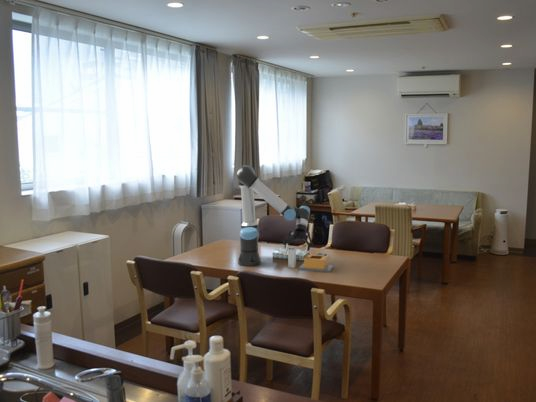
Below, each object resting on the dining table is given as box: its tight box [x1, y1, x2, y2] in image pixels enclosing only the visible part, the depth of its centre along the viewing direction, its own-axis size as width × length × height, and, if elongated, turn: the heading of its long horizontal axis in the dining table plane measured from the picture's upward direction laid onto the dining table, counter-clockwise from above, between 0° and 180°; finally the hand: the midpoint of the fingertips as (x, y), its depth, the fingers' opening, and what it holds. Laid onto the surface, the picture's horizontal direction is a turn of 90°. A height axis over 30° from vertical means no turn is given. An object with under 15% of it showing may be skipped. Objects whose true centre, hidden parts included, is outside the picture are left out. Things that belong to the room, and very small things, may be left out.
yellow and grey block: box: [297, 254, 335, 273], centre depth 320 cm, size 20×12×8 cm, turn 71°
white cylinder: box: [287, 247, 297, 269], centre depth 325 cm, size 4×4×12 cm
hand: (295, 253), depth 327 cm, fingers open, 13 cm apart
